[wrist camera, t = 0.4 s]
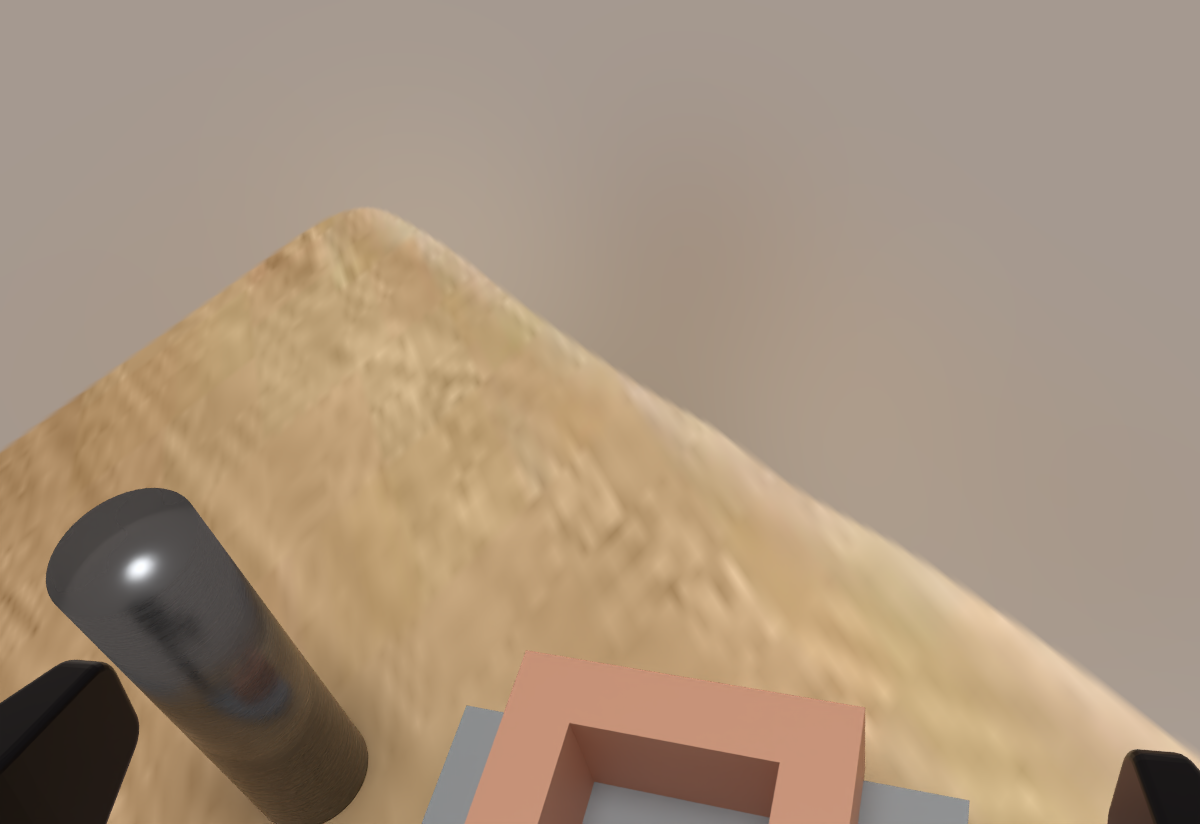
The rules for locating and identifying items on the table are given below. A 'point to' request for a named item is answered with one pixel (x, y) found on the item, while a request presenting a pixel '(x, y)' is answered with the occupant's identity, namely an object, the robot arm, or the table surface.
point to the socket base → (664, 756)
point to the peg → (207, 652)
